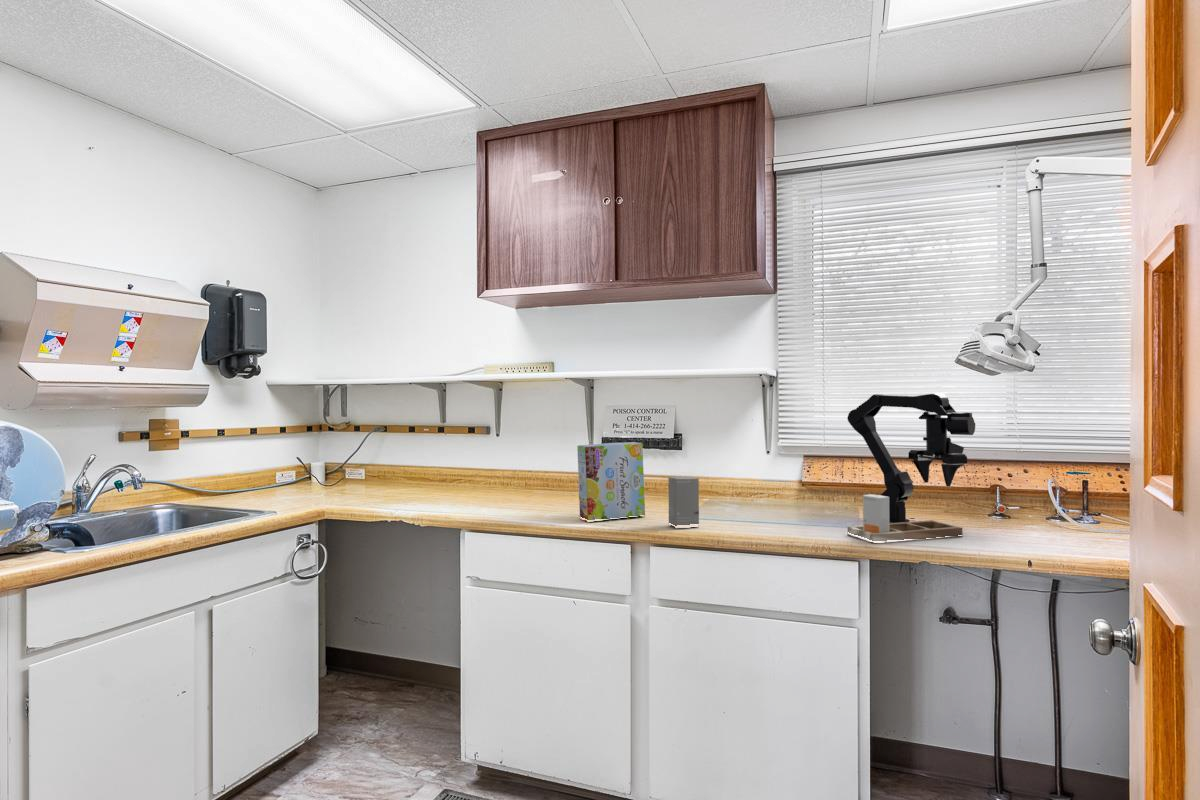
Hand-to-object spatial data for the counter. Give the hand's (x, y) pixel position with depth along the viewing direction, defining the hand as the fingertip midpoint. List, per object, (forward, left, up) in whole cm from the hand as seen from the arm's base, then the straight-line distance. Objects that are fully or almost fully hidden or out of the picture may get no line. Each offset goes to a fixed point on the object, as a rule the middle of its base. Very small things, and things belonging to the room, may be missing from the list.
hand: (937, 484), depth 206 cm
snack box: (-46, -92, -13) cm, 104 cm away
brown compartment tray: (+8, -19, -13) cm, 24 cm away
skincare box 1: (-25, -74, -13) cm, 79 cm away
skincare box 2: (+8, -28, -13) cm, 32 cm away
